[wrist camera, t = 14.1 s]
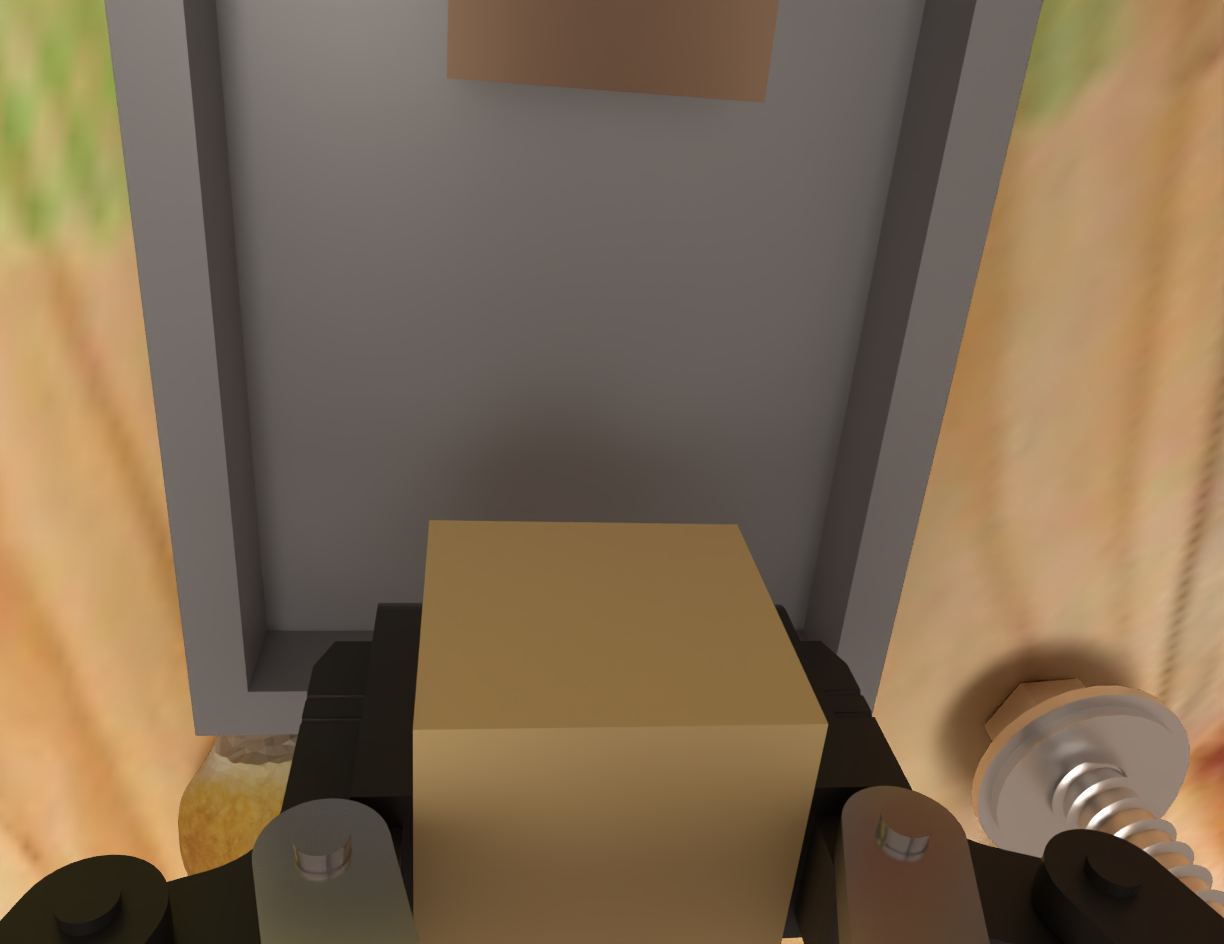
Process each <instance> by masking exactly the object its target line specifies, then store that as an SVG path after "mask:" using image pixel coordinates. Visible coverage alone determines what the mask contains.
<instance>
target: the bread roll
mask: <svg viewBox="0 0 1224 944" xmlns="http://www.w3.org/2000/svg"><path fill="white" fill-rule="evenodd" d="M297 737H298V734H278V735H219V736H218V738H217V740H216V742H215V744H214V746H213V748H212V750H211V751H210V753H209V755H208V757H207V759H206V760H205V761H204V763H203V764H202V766H201V767H200V769H199V770H198V771H197V773H196V774H195V776H194V777H193V779H192V780H191V782H190V783H189V785H188V786H187V788H186V790H185V792H184V794H183V796H182V799H181V803H180V809H179V818H178V827H179V842H180V851H181V856H182V860H183V863H184V867H185V869H186V871H187V873H188V876H190V875H194V874H197V873H201V872H204V871H208V870H211V869H214V868H217V867H220V866H223V865H225V864H227V863H229V862H232V861H234V860H236V859H238V858H239V857H241V856H243V855H244V854H246V853H248V852H249V851H250V850H252V849H253V848H254V844H255V842H256V840H257V838H258V836H259V834H260V833H261V832H262V830H263V829H264V828H265V826H267V825H268V824H269V823H270V822H271V821H272V820H273V819H274V818H275V817H277V816H278V815H280V812H281V808H282V804H283V799H284V795H285V790H286V786H287V781H288V777H289V772H290V768H291V763H292V759H293V754H294V750H295V745H296V741H297Z"/></svg>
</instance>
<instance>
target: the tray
mask: <svg viewBox="0 0 1224 944" xmlns="http://www.w3.org/2000/svg"><path fill="white" fill-rule="evenodd" d="M104 1H105V9H106V17H107V25H108V33H109V41H110V49H111V57H112V65H113V73H114V81H115V89H116V98H117V106H118V114H119V122H120V130H121V138H122V146H123V154H124V162H125V170H126V178H127V186H128V194H129V202H130V210H131V218H132V226H133V235H134V243H135V251H136V259H137V267H138V275H139V283H140V291H141V299H142V307H143V315H144V323H145V331H146V339H147V347H148V355H149V363H150V372H151V380H152V388H153V396H154V404H155V412H156V420H157V428H158V436H159V444H160V452H161V460H162V468H163V476H164V484H165V492H166V500H167V509H168V517H169V525H170V533H171V541H172V549H173V557H174V565H175V573H176V581H177V589H178V597H179V605H180V613H181V621H182V629H183V637H184V645H185V654H186V662H187V670H188V678H189V686H190V694H191V702H192V710H193V718H194V726H195V734H196V736H205V735H278V734H298V732H299V728H300V724H301V723H302V714H303V710H304V705H305V701H306V700H307V692H308V687H309V683H310V678H311V674H312V669H313V666H314V665H315V664H316V662H317V661H318V660H319V659H320V658H321V657H322V656H323V655H324V653H325V652H326V651H327V650H328V649H329V648H330V647H331V646H332V644H333V643H334V642H335V641H372V640H373V633H374V626H375V619H376V612H377V606H378V603H423V594H424V582H425V569H426V556H427V543H428V531H429V520H450V521H522V522H594V523H666V524H737V525H738V527H739V529H740V532H741V534H742V536H743V538H744V540H745V542H746V545H747V547H748V549H749V551H750V553H751V556H752V558H753V560H754V562H755V564H756V567H757V569H758V571H759V573H760V575H761V578H762V580H763V582H764V584H765V586H766V589H767V591H768V593H769V595H770V597H771V599H772V602H773V604H781V605H783V607H784V608H785V609H786V611H787V613H788V615H789V618H790V620H791V622H792V624H793V626H794V628H795V631H796V633H797V635H798V637H799V639H800V641H821V642H823V643H824V644H825V645H826V646H827V647H828V648H829V649H831V650H832V651H833V652H834V653H835V654H836V655H837V656H839V657H840V658H841V659H842V660H843V661H844V662H846V663H847V665H848V667H849V669H850V671H851V672H852V674H853V676H854V678H855V680H856V682H857V684H858V686H859V688H860V690H861V691H860V693H861V695H863V696H864V698H865V700H866V702H867V703H868V705H869V707H870V709H871V711H872V712H873V708H874V704H875V700H876V696H877V692H878V687H879V683H880V679H881V675H882V671H883V666H884V662H885V658H886V654H887V650H888V646H889V641H890V637H891V633H892V629H893V625H894V621H895V616H896V612H897V608H898V604H899V600H900V595H901V591H902V587H903V583H904V579H905V575H906V570H907V566H908V562H909V558H910V554H911V550H912V545H913V541H914V537H915V533H916V529H917V524H918V520H919V516H920V512H921V508H922V504H923V499H924V495H925V491H926V487H927V483H928V479H929V474H930V470H931V466H932V462H933V458H934V453H935V449H936V445H937V441H938V437H939V433H940V428H941V424H942V420H943V416H944V412H945V408H946V403H947V399H948V395H949V391H950V387H951V382H952V378H953V374H954V370H955V366H956V362H957V357H958V353H959V349H960V345H961V341H962V337H963V332H964V328H965V324H966V320H967V316H968V311H969V307H970V303H971V299H972V295H973V291H974V286H975V282H976V278H977V274H978V270H979V265H980V261H981V257H982V253H983V249H984V245H985V240H986V236H987V232H988V228H989V224H990V220H991V215H992V211H993V207H994V203H995V199H996V194H997V190H998V186H999V182H1000V178H1001V174H1002V169H1003V165H1004V161H1005V157H1006V153H1007V149H1008V144H1009V140H1010V136H1011V132H1012V128H1013V123H1014V119H1015V115H1016V111H1017V107H1018V103H1019V98H1020V94H1021V90H1022V86H1023V82H1024V78H1025V73H1026V69H1027V65H1028V61H1029V57H1030V52H1031V48H1032V44H1033V40H1034V36H1035V32H1036V27H1037V23H1038V19H1039V15H1040V11H1041V7H1042V2H1043V0H779V5H778V12H777V19H776V26H775V33H774V40H773V47H772V54H771V61H770V68H769V75H768V82H767V89H766V96H765V103H760V102H747V101H734V100H721V99H708V98H695V97H683V96H670V95H657V94H644V93H631V92H618V91H605V90H592V89H579V88H566V87H553V86H540V85H527V84H514V83H501V82H488V81H475V80H462V79H449V78H447V38H448V0H104Z"/></svg>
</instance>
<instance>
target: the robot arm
mask: <svg viewBox="0 0 1224 944" xmlns="http://www.w3.org/2000/svg"><path fill="white" fill-rule="evenodd" d="M774 606H775V608H776V610H777V613H778V615H779V617H780V619H781V621H782V624H783V626H784V628H785V630H786V632H787V635H788V637H789V639H790V641H791V643H792V646H793V648H794V650H795V652H796V654H797V656H798V659H799V661H800V663H801V665H802V667H803V670H804V672H805V674H806V676H807V678H808V681H809V683H810V685H811V687H812V689H813V692H814V694H815V696H816V698H817V700H818V703H819V705H820V707H821V709H822V711H823V713H824V716H825V718H826V720H827V722H828V728H827V733H826V738H825V742H824V747H823V752H822V756H821V761H820V765H819V770H818V775H817V779H816V784H815V789H814V793H813V798H812V802H811V807H810V812H809V816H808V821H807V826H806V830H805V835H804V839H803V844H802V849H801V853H800V858H799V863H798V867H797V872H796V876H795V881H794V886H793V890H792V895H791V900H790V904H789V909H788V914H787V918H786V923H785V927H784V932H783V937H782V938H798V937H802V939H803V942H804V944H1224V918H1223V917H1222V916H1221V915H1220V914H1219V913H1217V912H1216V911H1215V910H1214V909H1213V908H1212V907H1210V906H1209V905H1208V904H1207V903H1206V902H1205V901H1203V900H1202V899H1201V898H1200V897H1199V896H1198V895H1196V894H1195V893H1194V892H1193V891H1192V890H1191V889H1189V888H1188V887H1187V886H1186V885H1185V884H1184V883H1182V882H1181V881H1180V880H1179V879H1178V878H1177V877H1175V876H1174V875H1173V874H1172V873H1171V872H1170V871H1168V870H1167V869H1166V868H1165V867H1164V866H1163V865H1161V864H1160V863H1159V862H1158V861H1157V860H1156V859H1154V858H1153V857H1152V856H1151V855H1149V854H1148V853H1147V852H1145V851H1144V850H1142V849H1141V848H1139V847H1137V846H1136V845H1134V844H1132V843H1130V842H1128V841H1126V840H1124V839H1122V838H1120V837H1117V836H1115V835H1112V834H1109V833H1105V832H1102V831H1096V830H1091V829H1072V830H1067V831H1063V832H1060V833H1058V834H1057V835H1055V836H1054V837H1052V838H1051V839H1050V840H1049V842H1048V843H1047V845H1046V847H1045V850H1044V852H1043V855H1042V858H1039V857H1035V856H1030V855H1026V854H1021V853H1017V852H1013V851H1008V850H1004V849H999V848H995V847H991V846H987V845H983V844H980V843H977V842H974V841H972V840H969V839H967V838H966V835H965V832H964V830H963V828H962V827H961V825H960V823H959V822H958V821H957V819H956V818H955V817H954V816H953V815H952V814H951V813H950V812H949V811H948V810H947V809H946V808H944V807H943V806H942V805H940V804H939V803H938V802H936V801H934V800H933V799H931V798H929V797H927V796H925V795H923V794H921V793H918V792H915V791H912V789H911V787H910V785H909V783H908V781H907V779H906V777H905V775H904V773H903V771H902V769H901V767H900V765H899V763H898V762H897V760H896V758H895V756H894V754H893V752H892V750H891V748H890V746H889V744H888V742H887V740H886V738H885V736H884V734H883V733H882V731H881V729H880V727H879V725H878V723H877V721H876V719H875V717H872V711H871V709H870V707H869V705H868V703H867V702H866V700H865V698H864V696H863V695H861V693H860V691H861V690H860V688H859V686H858V684H857V682H856V680H855V678H854V676H853V674H852V672H851V671H850V669H849V667H848V665H847V663H846V662H844V661H843V660H842V659H841V658H840V657H839V656H837V655H836V654H835V653H834V652H833V651H832V650H831V649H829V648H828V647H827V646H826V645H825V644H824V643H823V642H821V641H800V639H799V637H798V635H797V633H796V631H795V628H794V626H793V624H792V622H791V620H790V618H789V615H788V613H787V611H786V609H785V608H784V607H783V605H781V604H774ZM422 607H423V603H378V606H377V612H376V619H375V626H374V633H373V640H372V641H335V642H334V643H333V644H332V646H331V647H330V648H329V649H328V650H327V651H326V652H325V653H324V655H323V656H322V657H321V658H320V659H319V660H318V661H317V662H316V664H315V665H314V666H313V669H312V674H311V678H310V683H309V687H308V692H307V700H306V701H305V705H304V710H303V714H302V723H301V724H300V728H299V732H298V737H297V741H296V745H295V750H294V754H293V759H292V763H291V768H290V772H289V777H288V781H287V786H286V790H285V795H284V799H283V804H282V808H281V812H280V815H278V816H277V817H275V818H274V819H273V820H272V821H271V822H270V823H269V824H268V825H267V826H265V828H264V829H263V830H262V832H261V833H260V834H259V836H258V838H257V840H256V842H255V844H254V848H253V849H252V850H250V851H249V852H248V853H246V854H244V855H243V856H241V857H239V858H238V859H236V860H234V861H232V862H229V863H227V864H225V865H223V866H220V867H217V868H214V869H211V870H208V871H204V872H201V873H197V874H194V875H190V876H187V877H183V878H180V879H176V880H173V881H169V882H166V880H165V878H164V877H163V875H162V873H161V872H160V871H159V870H158V869H157V868H156V867H155V866H154V865H152V864H150V863H148V862H147V861H145V860H142V859H139V858H136V857H132V856H126V855H104V856H96V857H91V858H87V859H83V860H80V861H77V862H74V863H71V864H69V865H67V866H64V867H62V868H60V869H58V870H56V871H54V872H53V873H51V874H49V875H48V876H46V877H44V878H43V879H42V880H40V881H39V882H38V883H36V884H35V885H34V886H33V887H32V888H31V889H30V890H29V891H28V892H27V893H26V894H25V895H24V896H23V897H22V898H21V899H20V900H19V901H18V902H17V903H16V904H15V905H14V907H13V908H12V909H11V910H10V911H9V912H8V913H7V914H6V915H5V916H4V917H3V919H2V920H1V921H0V944H420V943H419V939H418V935H417V932H416V928H415V924H414V920H413V722H414V709H415V696H416V684H417V671H418V658H419V645H420V633H421V620H422Z"/></svg>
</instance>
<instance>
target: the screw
mask: <svg viewBox="0 0 1224 944" xmlns="http://www.w3.org/2000/svg"><path fill="white" fill-rule="evenodd" d="M984 728H985V729H986V731H987V733H988V735H989V737H990V739H991V741H992V743H991V744H990V746H989V747H988V749H987V750H986V752H985V754H984V755H983V757H982V758H981V760H980V762H979V764H978V767H977V770H976V773H975V776H974V778H973V785H972V796H971V798H972V803H973V808H974V812H975V815H976V817H977V818H978V820H979V822H980V824H981V825H982V827H983V829H984V831H985V832H986V834H987V836H988V838H989V839H991V840H992V841H993V842H994V843H995V844H996V845H997V846H998V847H999V848H1000V849H1004V850H1008V851H1013V852H1017V853H1021V854H1026V855H1030V856H1035V857H1039V858H1042V855H1043V852H1044V850H1045V847H1046V845H1047V843H1048V842H1049V840H1050V839H1051V838H1052V837H1054V836H1055V835H1057V834H1058V833H1060V832H1063V831H1067V830H1072V829H1091V830H1096V831H1102V832H1105V833H1109V834H1112V835H1115V836H1117V837H1120V838H1122V839H1124V840H1126V841H1128V842H1130V843H1132V844H1134V845H1136V846H1137V847H1139V848H1141V849H1142V850H1144V851H1145V852H1147V853H1148V854H1149V855H1151V856H1152V857H1153V858H1154V859H1156V860H1157V861H1158V862H1159V863H1160V864H1161V865H1163V866H1164V867H1165V868H1166V869H1167V870H1168V871H1170V872H1171V873H1172V874H1173V875H1174V876H1175V877H1177V878H1178V879H1179V880H1180V881H1181V882H1182V883H1184V884H1185V885H1186V886H1187V887H1188V888H1189V889H1191V890H1192V891H1193V892H1194V893H1195V894H1196V895H1198V896H1199V897H1200V898H1201V899H1202V900H1203V901H1205V902H1206V903H1207V904H1208V905H1209V906H1210V907H1212V908H1213V909H1214V910H1215V911H1216V912H1217V913H1219V914H1220V915H1221V916H1222V917H1223V918H1224V892H1221V891H1218V890H1211V887H1212V882H1213V881H1212V875H1211V873H1210V872H1209V871H1208V870H1207V869H1206V868H1204V867H1202V866H1198V865H1193V861H1194V853H1193V851H1192V849H1191V848H1190V847H1189V846H1188V845H1186V844H1185V843H1182V842H1177V841H1176V835H1177V834H1176V830H1175V827H1174V826H1173V825H1172V824H1171V823H1169V822H1168V821H1165V820H1162V819H1160V818H1161V817H1162V816H1163V815H1164V814H1165V813H1166V812H1167V810H1168V809H1169V807H1170V806H1171V804H1172V803H1173V801H1174V800H1175V798H1176V797H1177V794H1178V792H1179V789H1180V787H1181V785H1182V784H1183V781H1184V778H1185V775H1186V772H1187V769H1188V766H1189V755H1190V746H1189V741H1188V737H1187V733H1186V730H1185V729H1184V727H1183V726H1182V724H1181V722H1180V721H1179V719H1178V717H1177V716H1176V715H1175V714H1174V713H1173V712H1172V711H1171V710H1170V709H1169V708H1168V707H1167V706H1166V705H1165V704H1164V703H1162V702H1161V701H1160V700H1159V699H1158V698H1157V697H1155V696H1152V695H1150V694H1148V693H1146V692H1144V691H1141V690H1139V689H1134V688H1129V687H1123V686H1092V687H1087V688H1085V686H1084V685H1083V684H1082V683H1081V682H1080V680H1079V679H1067V680H1053V681H1040V682H1027V683H1020V684H1019V685H1018V687H1017V688H1016V689H1015V690H1014V691H1013V692H1012V694H1011V695H1010V696H1009V697H1008V698H1007V699H1006V701H1005V702H1004V703H1003V704H1002V705H1001V706H1000V708H999V709H998V710H997V711H996V712H995V713H994V715H993V716H992V717H991V718H990V719H989V720H988V722H987V723H986V724H985V725H984Z"/></svg>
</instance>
